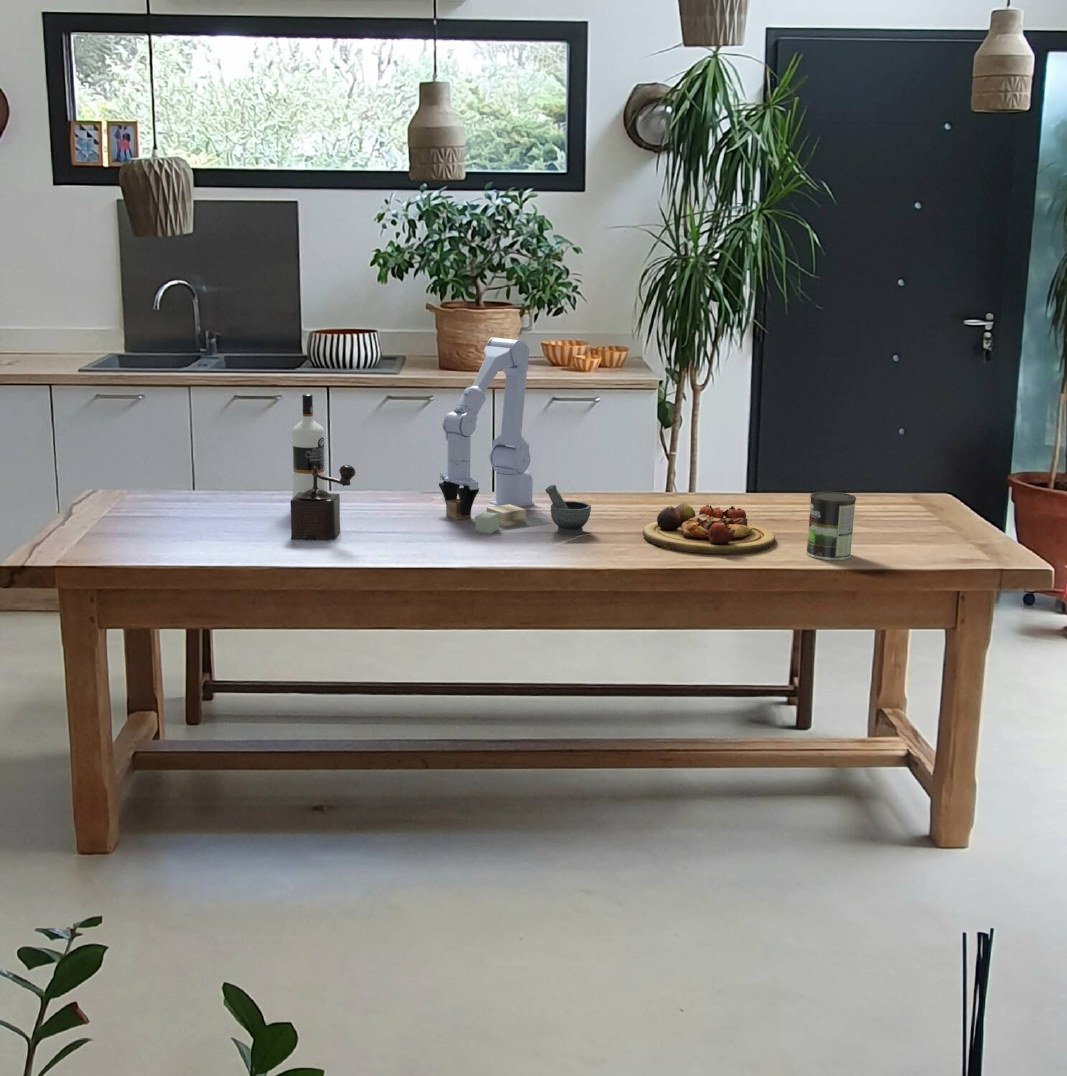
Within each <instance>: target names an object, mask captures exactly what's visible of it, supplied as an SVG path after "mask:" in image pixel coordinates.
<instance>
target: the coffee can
mask: <svg viewBox="0 0 1067 1076" xmlns="http://www.w3.org/2000/svg"><path fill="white" fill-rule="evenodd" d="M809 497H810V506H809V517H808V518H809V520H808V531H807V546H806V552H805V553H806V555H807V556H809V557H811V558H814V559H817V560H823V561H832V562H834V561H835V562H836V561H845V560H849V559H850V558H851V557H852V556H851V553H852V544H853V543H852V541H853V530H854V519H855V509H856V508H855V506H856V501H857V497H856V496H855V495H853V494H850V493H847V492H846V493H845V492H841V491H815V492H812V493H811V494H810V496H809Z"/></svg>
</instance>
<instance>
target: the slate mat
mask: <svg viewBox="0 0 1067 1076" xmlns="http://www.w3.org/2000/svg"><path fill="white" fill-rule="evenodd" d="M461 522H462V523H465V524H468V525H471V526H472V527H476V523H475V518H469V519H465V520H464V519H462V520H461ZM550 524H552V523H551V522H549V521H547V520H543V519H540V518H537V517H534V516H531V515H528V514H526V523H523V524H517V525H510V526H503V527H502V526H500V525H499V529H498V530H496V531H494V532H493V533H498V532H505V531H512V530H519V529H524V528H530V527H531V528H532V527H536V526H537V527H538V526H544V525H545V526H546V525H550Z"/></svg>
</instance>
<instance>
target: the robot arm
mask: <svg viewBox="0 0 1067 1076" xmlns="http://www.w3.org/2000/svg"><path fill="white" fill-rule="evenodd" d="M483 356H484V360H483V362H482V364H481V366H480V368H479V371H478V373H477V374H476V377H475V379H474V382H473V383H472V386H468V387H465V389H464V391H463V393H462V395H461V396H460V399H459V400H458V401H457V403H456V406H455V407H454V409H453V411H451V412H448V413H447V414H446V415H445V416H444V420H443V422H442V430H443V431H444V434H445V439H446V441H447V471H441V472H439V480H440V481H442V482H440V483H438V487H439V488H440V490H441V492H442V495H443V498H444V502H445V503H446V500H454V499H460V506H461V514H462V515H463V516H465V515H470V512H471V513H472V508H473V504H474V502H475V499H476V497H477V495H478V493H480V491H479V490H480V488H479V481H478V480H475V479H474V478H473V477H472V476H471V444H472V443H471V439H472V438H471V437H472V435H473V434H474V432H475V431H476V428H477V420H478V414H479V412H480V411H481V408H482V407H483V405H484V403H485V401H486V400H487V397H486V393H485V392H486V390H487V389H488V388H489V386H490V385H491V383H492V382H493V380H494V379H495V378H496V376H497V374H498V372H499V371H501V370H502V372H503V373H504V375H505V381H504V382H505V384H504V392H503V393H504V395H503V407H502V418H501V431H500V434H499V435H498V436H497V437H496V438H495V439H493V441H492V447H491V450H490V453H489V462H490V465H491V467H493V471H494V472H495V499H494V500H489V501H488V503H489V504H492V505H493V506H500V505H508V504H510V505H514V506H517V507H525V506H530V505H531V506H532V505H535V502H533V494H534V493H533V491H534V490H533V488H534V487H533V486H534V482H533V477H532V474H531V472H529V470H528V468H529V466H530V464H531V454H530V443H529V442H528V441H527V440H526V439H525V438H524V437H523V436H522V431H523V422H524V421H523V420H524V409H525V399H526V398H525V397H526V395H525V394H526V388H527V384H526V383H527V375H528V374H527V372H528V370H529V358H530V347H529V346H528V344H527V343H526V342H525V341H524V340H523V339H511V338H502V337H501V338H500V337H497V336H494V337H490V338H489V340H488V341H487V343H486V345H485V347H484V349H483ZM458 497H459V498H458Z"/></svg>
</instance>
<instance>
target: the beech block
mask: <svg viewBox="0 0 1067 1076" xmlns="http://www.w3.org/2000/svg"><path fill="white" fill-rule="evenodd" d="M486 512H490V513H498V522H499V525H500V526H502V527H503V526H510V525H517V524H523V523H526V515H527V509H526V508H522V507H521V506H518V507H517V506H514V505H510V504H508V505H500V506H497V505H493V506H488V507H486Z"/></svg>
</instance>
